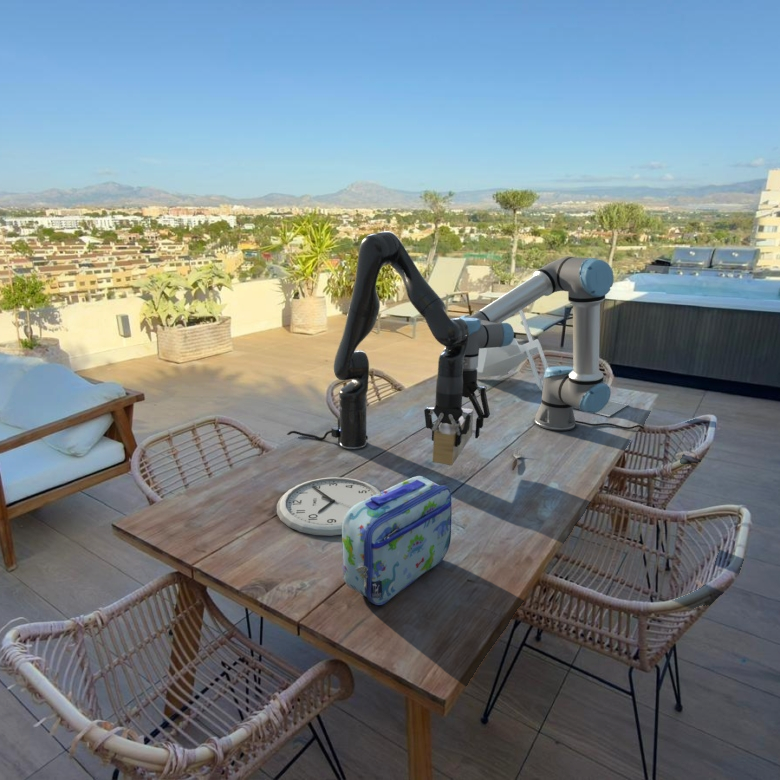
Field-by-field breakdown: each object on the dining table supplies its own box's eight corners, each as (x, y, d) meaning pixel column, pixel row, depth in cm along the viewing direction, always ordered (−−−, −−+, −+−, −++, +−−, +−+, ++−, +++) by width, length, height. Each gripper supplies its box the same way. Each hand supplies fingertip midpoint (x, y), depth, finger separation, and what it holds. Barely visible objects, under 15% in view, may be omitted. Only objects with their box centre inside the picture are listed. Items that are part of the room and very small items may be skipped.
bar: (454, 433, 174) (455, 406, 172) (471, 436, 172) (473, 409, 170) (432, 462, 153) (433, 432, 150) (452, 465, 151) (453, 435, 148)
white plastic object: (488, 420, 264) (468, 397, 239) (469, 347, 286) (449, 319, 261) (560, 396, 252) (546, 369, 227) (534, 322, 274) (519, 290, 249)
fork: (508, 471, 164) (508, 465, 164) (514, 451, 179) (515, 446, 178) (516, 472, 164) (517, 466, 163) (522, 452, 178) (523, 447, 177)
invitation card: (608, 416, 214) (573, 407, 224) (608, 416, 214) (573, 408, 224) (628, 404, 229) (594, 396, 238) (628, 405, 229) (594, 397, 238)
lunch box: (371, 618, 102) (371, 524, 95) (336, 591, 109) (334, 502, 103) (455, 562, 119) (460, 479, 113) (420, 542, 126) (423, 463, 120)
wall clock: (392, 527, 129) (268, 531, 127) (391, 533, 130) (269, 537, 127) (383, 473, 158) (282, 475, 155) (383, 478, 158) (282, 480, 156)
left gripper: (421, 389, 147) (418, 444, 152) (471, 396, 142) (467, 453, 147) (429, 382, 154) (426, 435, 159) (477, 389, 149) (473, 443, 154)
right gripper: (427, 366, 164) (425, 432, 171) (499, 375, 156) (493, 444, 163) (434, 361, 171) (431, 425, 177) (503, 369, 163) (497, 435, 169)
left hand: (446, 443), depth 153 cm, fingers closed on bar, 6 cm apart
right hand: (461, 434), depth 170 cm, fingers open, 10 cm apart
